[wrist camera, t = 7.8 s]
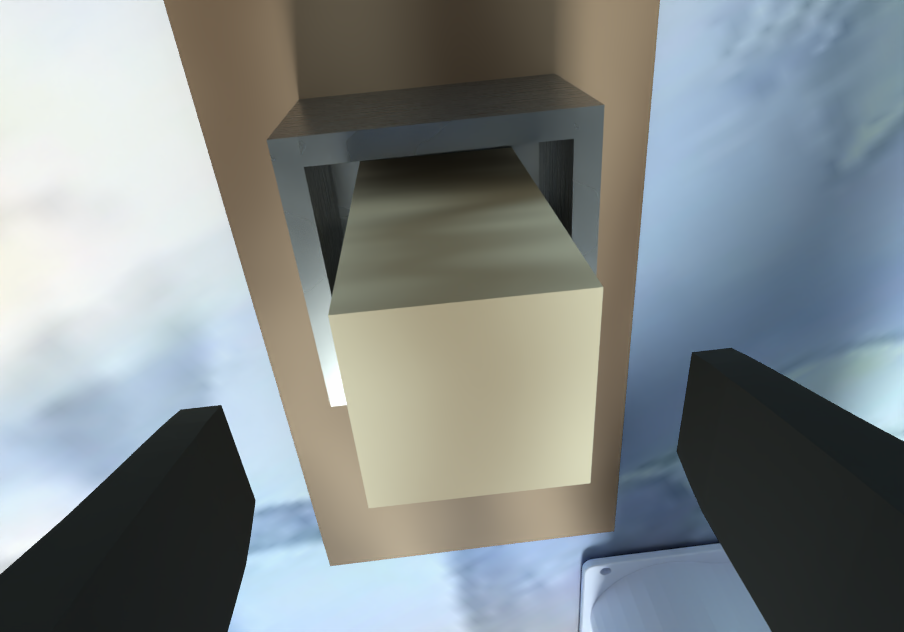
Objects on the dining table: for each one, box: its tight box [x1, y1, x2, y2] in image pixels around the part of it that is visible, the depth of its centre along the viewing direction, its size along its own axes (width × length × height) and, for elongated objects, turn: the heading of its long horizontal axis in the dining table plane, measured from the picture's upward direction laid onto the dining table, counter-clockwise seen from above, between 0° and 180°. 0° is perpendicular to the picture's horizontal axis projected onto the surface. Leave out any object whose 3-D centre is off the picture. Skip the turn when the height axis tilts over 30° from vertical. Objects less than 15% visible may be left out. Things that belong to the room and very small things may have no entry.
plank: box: [164, 0, 660, 566], centre depth 19 cm, size 12×22×1 cm, turn 5°
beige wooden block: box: [328, 147, 603, 508], centre depth 13 cm, size 4×4×8 cm
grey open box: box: [267, 73, 605, 407], centre depth 15 cm, size 7×7×4 cm
